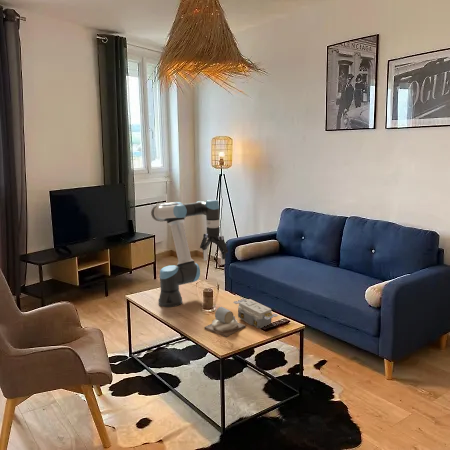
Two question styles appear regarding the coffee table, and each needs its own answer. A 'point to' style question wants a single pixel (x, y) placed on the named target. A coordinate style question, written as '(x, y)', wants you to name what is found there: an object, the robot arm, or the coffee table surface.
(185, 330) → the coffee table surface
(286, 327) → the coffee table surface
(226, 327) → the pedestal
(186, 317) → the coffee table surface
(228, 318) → the ceramic mug
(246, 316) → the electrical outlet
